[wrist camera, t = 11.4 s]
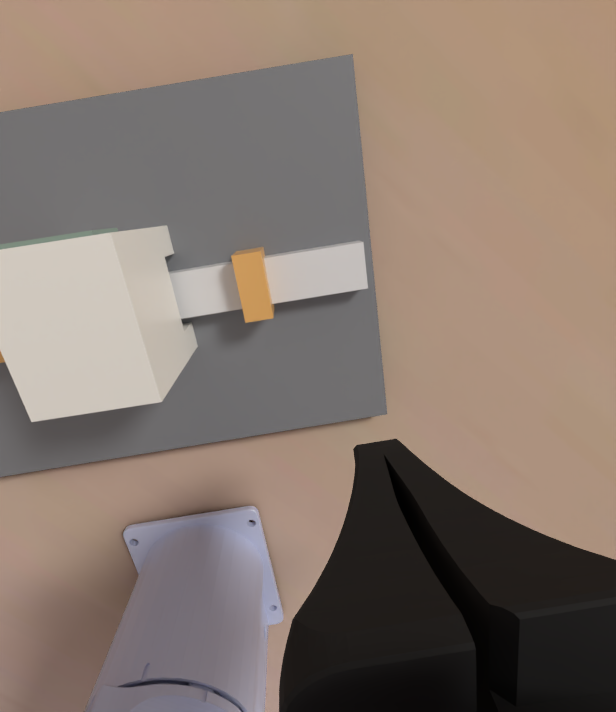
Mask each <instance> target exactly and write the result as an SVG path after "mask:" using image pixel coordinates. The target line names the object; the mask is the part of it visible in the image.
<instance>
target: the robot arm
mask: <svg viewBox="0 0 616 712" xmlns="http://www.w3.org/2000/svg"><path fill="white" fill-rule="evenodd" d="M353 450H354V457H355V476H354V483H353V490H352V494H351V499H350V503H349V507H348V511H347V514H346V518H345V521H344V524H343V527H342V530H341V533H340V535H339V538H338V540H337V543H336V545H335V547H334V550H333V552H332V554H331V556H330V559H329V561H328V563H327V565H326V566H325V568H324V570H323V572H322V574H321V576H320V577H319V579H318V581H317V583H316V585H315V587H314V588H313V590H312V592H311V593H310V595H309V596H308V598H307V599H306V601H305V602H304V604H303V605H302V607H301V608H300V609H299V611H298V612H297V614H296V615H295V617H294V618H293V621H292V624H291V628H290V632H289V635H288V639H287V644H286V648H285V652H284V657H283V663H282V669H281V677H280V688H279V712H616V560H614V559H611V558H608V557H605V556H602V555H599V554H595V553H592V552H589V551H586V550H583V549H580V548H577V547H574V546H572V545H569V544H566V543H564V542H561V541H559V540H556V539H554V538H551V537H548V536H546V535H544V534H541V533H539V532H537V531H534V530H532V529H530V528H528V527H525V526H523V525H521V524H519V523H517V522H515V521H513V520H511V519H509V518H507V517H505V516H503V515H501V514H499V513H497V512H495V511H493V510H492V509H490V508H488V507H486V506H485V505H483V504H481V503H479V502H478V501H476V500H474V499H473V498H471V497H469V496H468V495H466V494H465V493H463V492H462V491H460V490H459V489H457V488H456V487H455V486H453V485H452V484H450V483H449V482H448V481H446V480H445V479H444V478H442V477H441V476H440V475H438V474H437V473H436V472H435V471H433V470H432V469H431V468H430V467H428V466H427V465H426V464H425V463H423V462H422V461H421V460H420V459H419V458H418V457H416V456H415V455H414V454H413V453H412V452H411V451H410V450H409V449H407V448H406V447H405V446H404V445H403V444H402V443H401V442H400V441H398V440H397V439H392V440H386V441H380V442H373V443H367V444H361V445H356V447H355V448H354V449H353ZM249 520H254V521H255V522H249ZM123 537H124V540H125V542H126V545H127V547H128V550H129V552H130V555H131V557H132V560H133V562H134V564H135V567H136V569H137V572H138V574H139V576H138V579H137V581H136V584H135V586H134V589H133V591H132V594H131V596H130V599H129V601H128V604H127V606H126V609H125V611H124V614H123V616H122V619H121V621H120V624H119V626H118V629H117V631H116V634H115V636H114V639H113V641H112V644H111V646H110V649H109V651H108V653H107V656H106V658H105V661H104V663H103V666H102V668H101V671H100V673H99V676H98V678H97V681H96V683H95V686H94V688H93V691H92V693H91V696H90V698H89V701H88V703H87V706H86V708H85V711H84V712H265V697H266V673H267V648H268V625H272V624H278V623H280V622H282V620H283V609H282V605H281V601H280V597H279V593H278V589H277V585H276V581H275V577H274V573H273V569H272V564H271V560H270V556H269V552H268V548H267V544H266V540H265V536H264V532H263V528H262V524H261V520H260V516H259V511H258V509H257V508H256V507H254V506H245V507H239V508H232V509H226V510H220V511H214V512H208V513H201V514H195V515H189V516H183V517H177V518H171V519H164V520H158V521H152V522H146V523H140V524H133V525H129V526H127V527H126V528H125V530H124V533H123ZM133 539H136V540H138V541H135V540H133Z"/></svg>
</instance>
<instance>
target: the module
mask: <svg viewBox="0 0 616 712" xmlns="http://www.w3.org/2000/svg"><path fill="white" fill-rule="evenodd" d="M172 254H174V251H173V247H172V243H171V239H170V235H169V231H168V227H167V225H166V226H158V227H150V228H142V229H134V230H127V231H119V232H118V229H117V228H109V229H100V230H90V231H84V232H77V233H71V234H64V235H58V236H51V237H45V238H38V239H32V240H26V241H19V242H13V243H6V244H0V351H1V353H2V356H3V358H4V360H5V363H6V365H7V367H8V369H9V372H10V374H11V376H12V379H13V381H14V383H15V386H16V388H17V390H18V392H19V395H20V397H21V399H22V402H23V404H24V406H25V408H26V411H27V413H28V415H29V418H30V420H31V422H36V421H42V420H49V419H55V418H62V417H68V416H75V415H81V414H88V413H94V412H101V411H107V410H114V409H120V408H127V407H133V406H140V405H146V404H153V403H159V402H162V401H163V399H164V398H165V396H166V395H167V393H168V392H169V390H170V389H171V387H172V385H173V384H174V382H175V381H176V379H177V378H178V376H179V375H180V373H181V371H182V370H183V368H184V367H185V365H186V364H187V362H188V361H189V359H190V358H191V356H192V354H193V353H194V351H195V350H196V348H197V347H198V345H197V341H196V337H195V333H194V329H193V325H192V322H191V323H185V324H182V321H181V317H180V314H179V310H178V306H177V302H176V298H175V295H174V291H173V287H172V283H171V279H170V275H169V272H168V268H167V264H166V260H165V257H166V256H169V255H172Z"/></svg>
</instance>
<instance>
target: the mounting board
mask: <svg viewBox="0 0 616 712" xmlns="http://www.w3.org/2000/svg"><path fill="white" fill-rule="evenodd" d="M166 225H167V227H168V231H169V235H170V239H171V243H172V247H173V251H174V254H172V255H169V256H166V257H165V260H166V264H167V268H168V272H169V275H170V279H171V283H172V287H173V291H174V295H175V298H176V302H177V306H178V310H179V314H180V317H181V321H182V324H185V323H191V322H192V325H193V329H194V333H195V337H196V341H197V345H198V347H197V348H196V350H195V351H194V353H193V354H192V356H191V358H190V359H189V361H188V362H187V364H186V365H185V367H184V368H183V370H182V371H181V373H180V375H179V376H178V378H177V379H176V381H175V382H174V384H173V385H172V387H171V389H170V390H169V392H168V393H167V395H166V396H165V398H164V399H163V401H162V402H159V403H153V404H146V405H140V406H133V407H127V408H120V409H114V410H107V411H101V412H94V413H88V414H81V415H75V416H68V417H62V418H55V419H49V420H42V421H36V422H31V420H30V418H29V415H28V413H27V411H26V408H25V406H24V404H23V402H22V399H21V397H20V395H19V392H18V390H17V388H16V386H15V383H14V381H13V379H12V376H11V374H10V372H9V369H8V367H7V365H6V363H5V360H4V358H3V356H2V353H1V351H0V477H3V476H9V475H16V474H22V473H28V472H34V471H40V470H46V469H53V468H59V467H65V466H71V465H77V464H83V463H90V462H96V461H102V460H108V459H114V458H120V457H127V456H133V455H139V454H145V453H151V452H157V451H164V450H170V449H176V448H182V447H188V446H194V445H201V444H207V443H213V442H219V441H225V440H231V439H237V438H244V437H250V436H256V435H262V434H268V433H274V432H281V431H287V430H293V429H299V428H305V427H311V426H318V425H324V424H330V423H336V422H342V421H348V420H355V419H361V418H367V417H373V416H379V415H385V414H387V407H386V397H385V387H384V376H383V366H382V355H381V345H380V334H379V324H378V314H377V303H376V293H375V282H374V272H373V261H372V251H371V241H370V230H369V220H368V209H367V199H366V188H365V178H364V168H363V157H362V147H361V136H360V126H359V115H358V105H357V95H356V84H355V74H354V63H353V54H350V55H344V56H338V57H332V58H326V59H320V60H314V61H308V62H302V63H296V64H290V65H284V66H278V67H272V68H266V69H260V70H254V71H247V72H241V73H235V74H229V75H223V76H217V77H211V78H205V79H199V80H193V81H187V82H181V83H175V84H169V85H163V86H157V87H151V88H144V89H138V90H132V91H126V92H120V93H114V94H108V95H102V96H96V97H90V98H84V99H78V100H72V101H66V102H60V103H54V104H48V105H41V106H35V107H29V108H23V109H17V110H11V111H5V112H0V244H6V243H13V242H19V241H26V240H32V239H38V238H45V237H51V236H58V235H64V234H71V233H77V232H84V231H90V230H100V229H109V228H117V229H118V232H119V231H127V230H134V229H142V228H150V227H158V226H166Z"/></svg>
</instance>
